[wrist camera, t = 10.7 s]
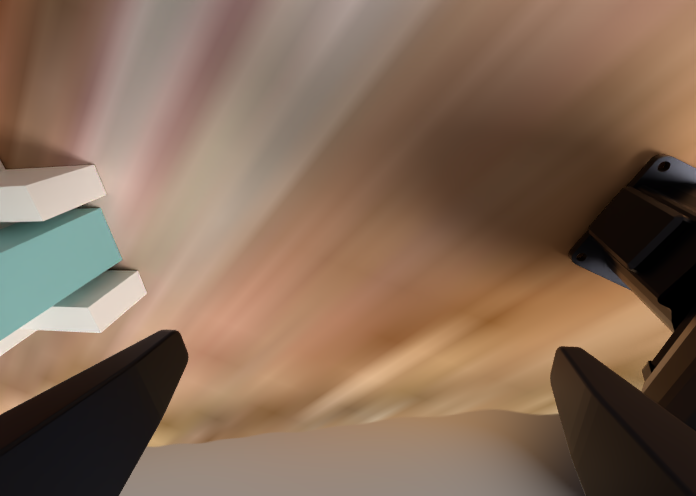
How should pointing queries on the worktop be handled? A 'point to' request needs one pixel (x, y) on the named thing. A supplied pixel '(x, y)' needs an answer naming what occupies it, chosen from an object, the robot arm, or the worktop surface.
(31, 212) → the socket
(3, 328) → the teal rectangular block
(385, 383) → the worktop surface
